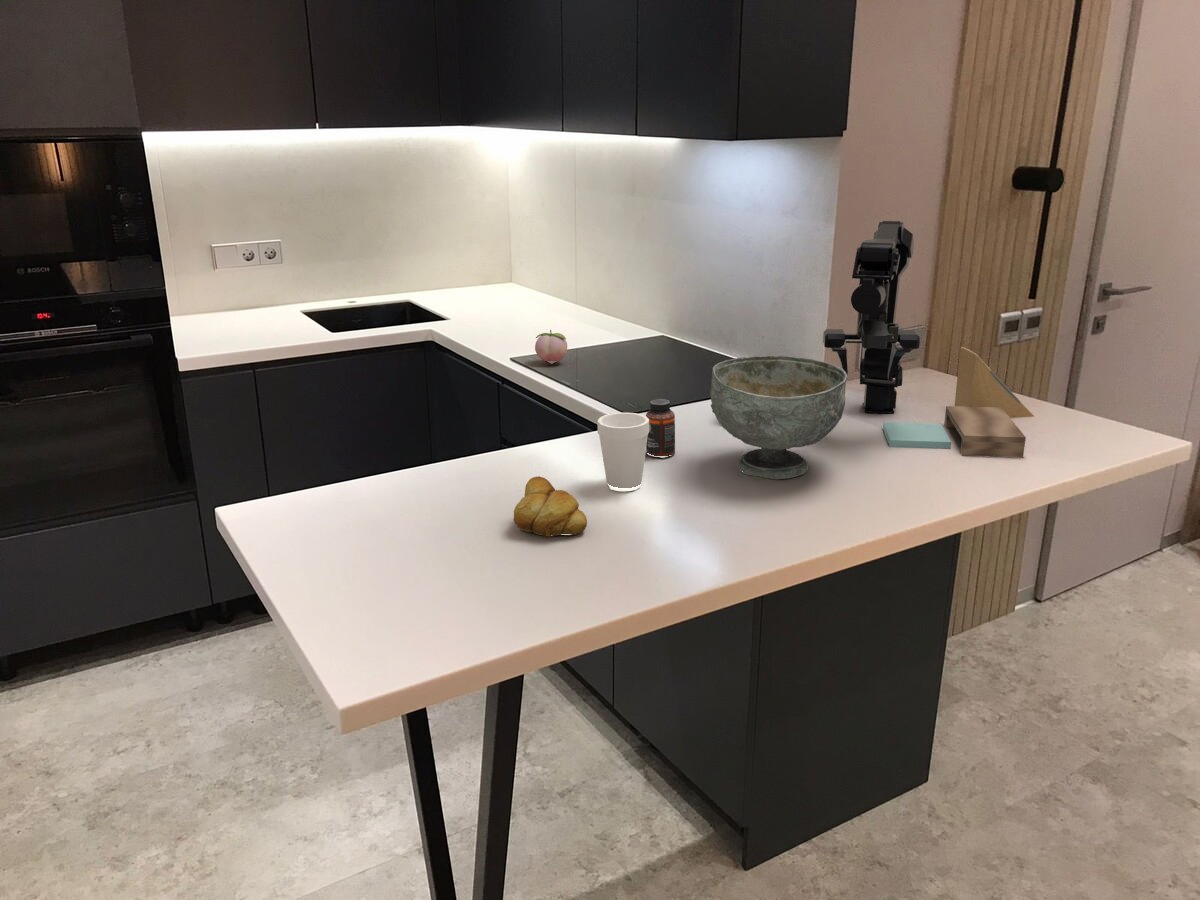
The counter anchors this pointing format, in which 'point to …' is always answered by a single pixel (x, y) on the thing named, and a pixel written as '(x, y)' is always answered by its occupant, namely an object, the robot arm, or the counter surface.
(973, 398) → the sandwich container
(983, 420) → the low shelf
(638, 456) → the foam cup
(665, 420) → the supplement bottle
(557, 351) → the decorative fruit
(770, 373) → the decorative bowl
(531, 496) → the bread roll
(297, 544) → the counter surface
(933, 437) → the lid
